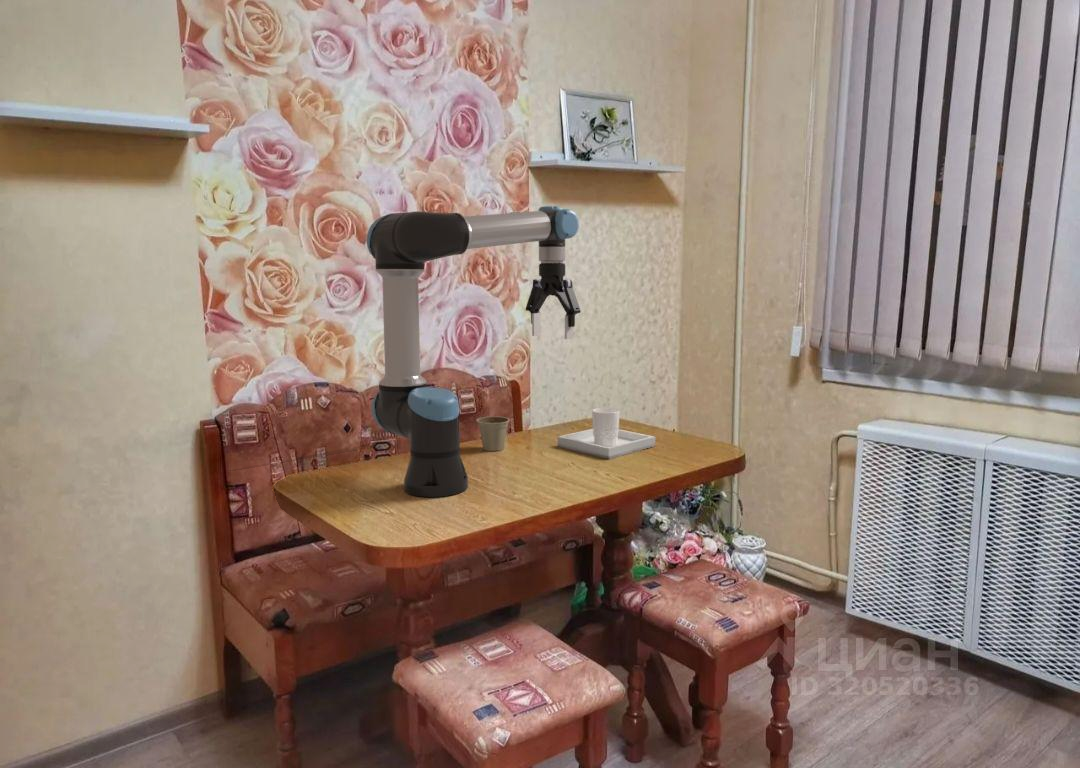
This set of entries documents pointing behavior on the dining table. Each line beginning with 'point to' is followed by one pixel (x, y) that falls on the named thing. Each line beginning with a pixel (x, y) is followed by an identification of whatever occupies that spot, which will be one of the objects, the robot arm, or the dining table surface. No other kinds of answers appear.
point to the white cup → (605, 426)
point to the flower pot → (493, 432)
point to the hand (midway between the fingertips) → (552, 337)
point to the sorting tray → (585, 444)
